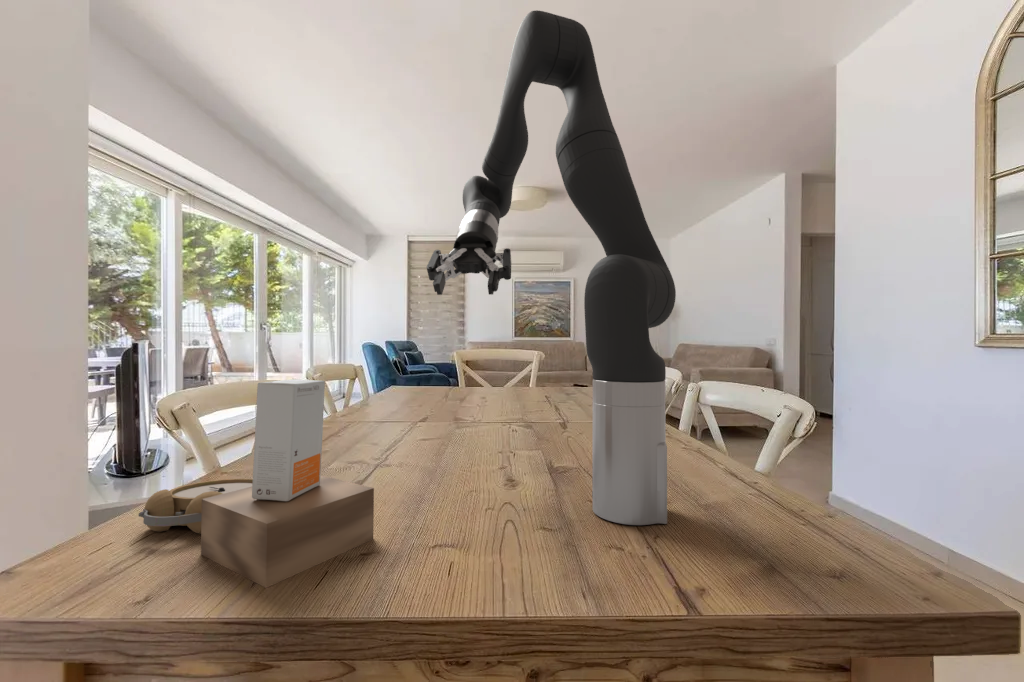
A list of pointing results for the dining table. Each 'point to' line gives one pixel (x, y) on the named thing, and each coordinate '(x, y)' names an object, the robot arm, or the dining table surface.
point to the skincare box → (287, 438)
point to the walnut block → (285, 529)
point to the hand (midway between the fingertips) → (464, 290)
